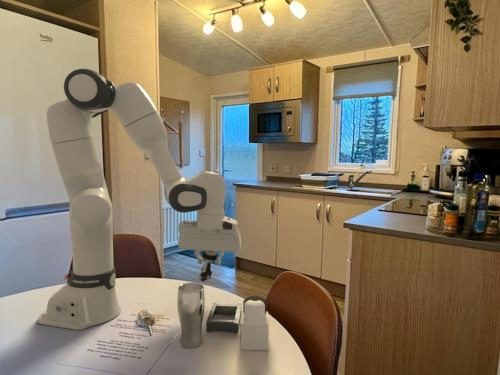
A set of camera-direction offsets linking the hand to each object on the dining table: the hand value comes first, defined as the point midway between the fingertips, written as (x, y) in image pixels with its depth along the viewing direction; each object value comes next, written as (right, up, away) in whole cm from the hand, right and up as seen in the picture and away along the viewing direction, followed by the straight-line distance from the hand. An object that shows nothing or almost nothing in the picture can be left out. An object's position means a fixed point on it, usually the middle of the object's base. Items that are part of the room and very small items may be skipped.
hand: (209, 263), depth 110 cm
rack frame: (+6, -15, -11) cm, 19 cm away
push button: (-2, -6, +1) cm, 6 cm away
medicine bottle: (+14, -16, -21) cm, 30 cm away
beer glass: (-2, -16, -21) cm, 27 cm away
